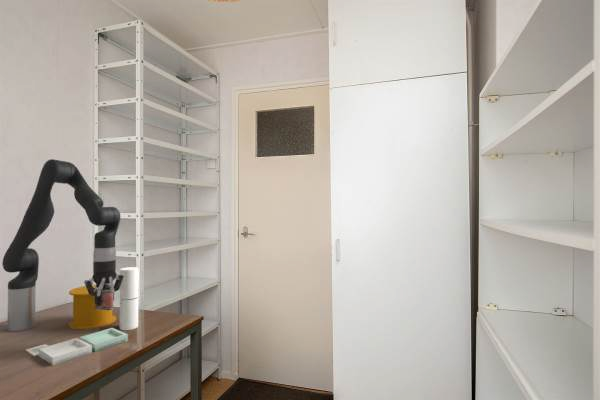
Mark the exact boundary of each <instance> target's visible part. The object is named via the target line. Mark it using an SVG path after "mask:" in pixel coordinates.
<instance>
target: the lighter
mask: <svg viewBox="0 0 600 400" xmlns="http://www.w3.org/2000/svg"><path fill="white" fill-rule="evenodd" d="M110 287H111V284H110V283H107V284H105V283H104V286H103V289H102V290H101V294H100V296H101V305H100V306H97V305H96V304H95V309H98V310H112V311H113V310H114V307H115V306H114V301H113V292H114V289H112V288H111V289H110ZM114 293H115V292H114Z"/></svg>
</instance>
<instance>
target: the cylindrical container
mask: <svg viewBox="0 0 600 400" xmlns="http://www.w3.org/2000/svg"><path fill="white" fill-rule="evenodd" d="M119 275H123V280H122V283H121V286H120V289H119V331H130V330H135V329H137V328H138V327H139V283H140V282H139V279H140V278H139V277H140V274H139V267H137V266H127V267H122V268H119Z"/></svg>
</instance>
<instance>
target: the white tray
mask: <svg viewBox="0 0 600 400" xmlns="http://www.w3.org/2000/svg"><path fill="white" fill-rule="evenodd" d="M92 353H93V350H92V345H90V344H88V343H86V342H84V341H82V340H80V338H78V337H75V338H71V339H68V340H65V341H60V342H58V343H54V344H51V345H48V346H47V347H43V348H40V349H39V355H38V357H39V358H41V360H43V361H45V362H46V363H48V364H50V366H55V365H58V364H62V363H64V362H68V361H70V360H73V359H77V358H79V357H83V356H86V355H88V354H92Z"/></svg>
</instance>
